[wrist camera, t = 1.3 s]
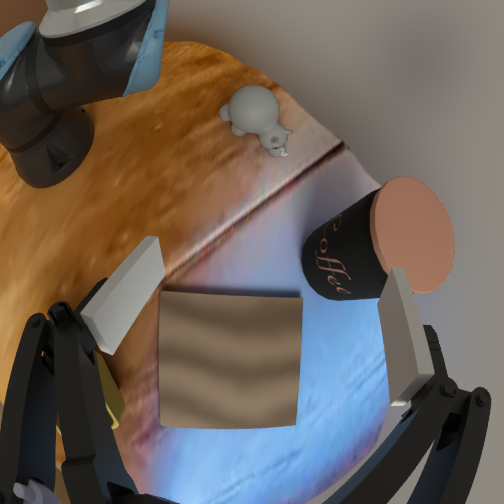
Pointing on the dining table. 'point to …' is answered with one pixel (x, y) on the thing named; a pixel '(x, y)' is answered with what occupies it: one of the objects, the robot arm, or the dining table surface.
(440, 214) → the coffee jar
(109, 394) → the flower pot
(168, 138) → the dining table surface
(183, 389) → the walnut board
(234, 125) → the chubby cartoon animal
